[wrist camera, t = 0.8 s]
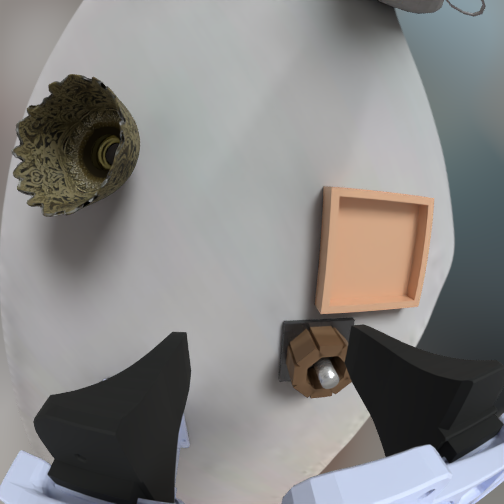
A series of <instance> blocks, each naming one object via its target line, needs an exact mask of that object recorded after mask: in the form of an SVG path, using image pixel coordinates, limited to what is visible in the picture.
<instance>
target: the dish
mask: <svg viewBox="0 0 504 504" xmlns="http://www.w3.org/2000/svg"><path fill="white" fill-rule="evenodd" d="M433 208H434V198H428V197H421V196H414V195H406V194H398V193H390V192H381V191H372V190H362V189H351V188H340V187H325V186H324V188H323V209H322V226H321V240H320V253H319V265H318V276H317V286H316V296H315V306H316V307H317V309H318V310H319V312H320V314H332V313H349V312H363V311H376V310H388V309H399V308H408V307H418V305H419V301H420V296H421V291H422V287H423V282H424V276H425V271H426V265H427V259H428V252H429V245H430V238H431V229H432V220H433Z"/></svg>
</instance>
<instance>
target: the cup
mask: <svg viewBox="0 0 504 504" xmlns="http://www.w3.org/2000/svg"><path fill="white" fill-rule="evenodd" d="M49 91H50V92H51V93H52V94H51V95H50V96H49V97H46V98H44V99H43V102H42V104H40V105H37V106H33V105H31V106H29V107H28V108H27V113H28V115H29V116H27V117H25V118H24V119H22V120H21V121H19V122H18V123H17V125H16V132H17V136H18V138H19V140H20V145H19V146H16V147H15V148H14V149H12V150H11V151H12V154H13V155H14V156H15V157H16V158H19V159H20V160H22V162H21V163H19V164H18V165H17V167H16V168H15V170H14V172H13V176H14V177H15V178H17V179H19V181H20V182H19V184H18V186H17V190H18V191H20V192H21V193H23V194H26V195H31V198H30V199H29V200H27V204H28V205H29V206H31V207H34V206H40V207H41V208H42V214H43V215H44V216H47V217H51V216H58V215H64V214H65V215H69V214H72V213H75V212H76V211H78V210H79V209H81V208H84V207H86V206H88V205H90V204H92V203H95V202H97V201H99V200H101V199H103V198H105V197H107V196H109V195H110V194H112V193H113V192H115V191H116V190H117V189H119V188H120V187H121V186H122V185H123V184H124V183H125V182H126V180H127V179H128V178H129V176H130V175H131V173H132V172H133V170H134V168H135V165H136V163H137V160H138V156H139V150H140V137H139V132H138V128H137V125H136V123H135V121H134V119H133V117H132V115H131V114H130V112H129V111H128V110H127V108H126V107H125V106H124V104H123V103H122V102H121V101H120V100H119V99H118V97H117V96H116V95H115V94H114V93H113V91H112V90H111V89H110V88H109V87H108V86H107V87H106V86H105V85H104V84H103V83H102V82H101V81H100V80H98V79H97V78H95V77H92V79H89V78H86V77H85V76H81V75H75V74H70V75H68V76H67V77H66V78H65V79H63V81H61V82H57V81H56V82H53V83H51V84H49ZM115 143H118V144H119V146H118V148H117V150H116V153H115V156H114V161H113V164H110V163H108V161H107V160H106V151H107V149H108V148H109V146H111V145H112V144H115ZM32 196H33V197H32Z"/></svg>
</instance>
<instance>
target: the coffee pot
mask: <svg viewBox="0 0 504 504" xmlns="http://www.w3.org/2000/svg"><path fill="white" fill-rule="evenodd" d="M378 1H380V2H382V3H384V4H386V5H389V6H392V7H395V8H399V9H401V10H404V11H407V12H413V13H418V14H419V13H433V12H436V11H437V10H439V9H440V8H441V7H442V4H443V2H444V0H378ZM446 1H447V2H448V3H449V5H450V6H451V7H453V8H454V9H456V10H458V11H460V12H462V13H463V14H466V15H471V16H477V15H480V14H482V13H483V11H484V9H485V3H484V0H481V1H482V4H483V5H482V7H481V10H480V11H479V12H475V13H469V12H465V11H462V10H460V9H459V8H457V7H455V6H453V5H452V4H451V3H450V2H449V1H448V0H446Z"/></svg>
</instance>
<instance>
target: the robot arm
mask: <svg viewBox="0 0 504 504" xmlns="http://www.w3.org/2000/svg"><path fill="white" fill-rule="evenodd" d="M345 365H346V368H347V371H348V374H349V376H350V379H351V381H352V383H353V385H354V386H355V388H356V390H357V392H358V394H359V395H360V397H361V399H362V401H363V402H364V404H365V406H366V408H367V410H368V411H369V413H370V415H371V417H372V419H373V421H374V424H375V426H376V429H377V432H378V434H379V437H380V440H381V443H382V446H383V449H384V453H385V456H386V457H385V458H382V459H379V460H375V461H372V462H368V463H364V464H361V465H357V466H353V467H349V468H344V469H340V470H335V471H330V472H327V473H324V474H320V475H317V476H313V477H310V478H308V479H306V480H304V481H302V482H300V483H298V484H296V485H294V486H293V487H292V488H291V489H290V490H289V491H288V492H287V494H286V495H285V496H284V497H283V499H282V504H475V503H476V502H478V501H479V500H480V499H482V498H483V497H484V496H485V495H487V494H488V493H489V492H490V491H492V490H493V489H494V488H496V487H497V486H498V485H499V484H500V483H502V482H503V481H504V413H503V414H502V415H501V416H500V417H499V418H497V416H496V415H495V414H496V413H497V408H496V407H495V406H494V404H495V402H496V400H497V399H498V397H499V395H500V393H501V391H502V389H503V387H504V365H502V364H501V363H500V362H498V361H497V360H485V361H484V360H481V361H480V360H478V361H477V360H464V359H456V358H450V357H445V356H440V355H437V354H433V353H430V352H426V351H423V350H420V349H418V348H415V347H413V346H410V345H408V344H405V343H403V342H401V341H399V340H397V339H394V338H392V337H390V336H388V335H386V334H384V333H382V332H380V331H378V330H376V329H374V328H371V327H369V326H366V325H354V326H351V331H350V337H349V342H348V348H347V353H346V358H345ZM190 377H191V366H190V358H189V350H188V342H187V333H186V332H172V333H171V334H170V335H168V336H167V337H166V338H165V339H164V340H163V341H162V342H161V343H160V344H158V345H157V346H156V347H155V348H154V349H153V350H151V351H150V352H149V353H148V354H147V355H145V356H144V357H143V358H141V359H140V360H139V361H137V362H136V363H135V364H133V365H132V366H130V367H129V368H127V369H125V370H124V371H122V372H120V373H118V374H117V375H115V376H112V377H110V378H108V379H103V381H101V382H99V383H97V384H94V385H91V386H88V387H85V388H82V389H79V390H75V391H71V392H66V393H61V394H55V395H50V396H49V398H48V399H47V401H46V402H45V403H44V405H43V406H42V408H41V409H40V411H39V412H38V414H37V415H36V417H35V418H34V427H35V430H36V432H37V434H38V436H39V438H40V439H41V441H42V442H43V443H44V445H45V446H46V448H47V449H48V451H49V452H50V453H51V455H52V456H53V457H54V459H55V460H54V462H53V464H52V466H51V465H50V464H49V463H48V462H46V461H45V460H43V459H41V458H39V457H36V456H34V455H32V454H30V453H27V452H25V451H23V450H20V452H19V453H18V455H17V457H16V458H15V460H14V462H13V463H12V465H11V467H10V469H9V471H8V472H7V474H6V476H5V478H4V480H3V481H2V484H1V485H0V500H1V501H2V502H3V503H5V504H184V502H183V501H182V500H180V499H177V498H176V491H177V488H176V487H175V483H176V475H177V468H178V461H179V455H180V448H181V447H183V448H188V447H189V446H190V442H189V437H188V432H187V427H186V422H185V417H184V409H185V405H186V400H187V396H188V392H189V386H190Z"/></svg>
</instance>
